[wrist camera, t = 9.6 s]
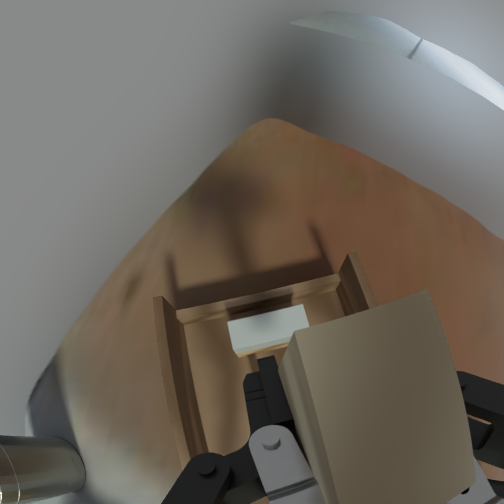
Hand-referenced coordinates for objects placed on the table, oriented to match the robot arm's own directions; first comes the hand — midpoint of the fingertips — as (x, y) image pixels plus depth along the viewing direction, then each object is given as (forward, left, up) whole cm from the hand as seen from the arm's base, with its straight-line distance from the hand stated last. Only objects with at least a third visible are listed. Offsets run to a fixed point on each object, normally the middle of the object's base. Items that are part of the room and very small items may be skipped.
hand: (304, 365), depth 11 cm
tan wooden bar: (0, -2, -7) cm, 8 cm away
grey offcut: (0, +6, -20) cm, 21 cm away
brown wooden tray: (0, +2, -24) cm, 24 cm away
